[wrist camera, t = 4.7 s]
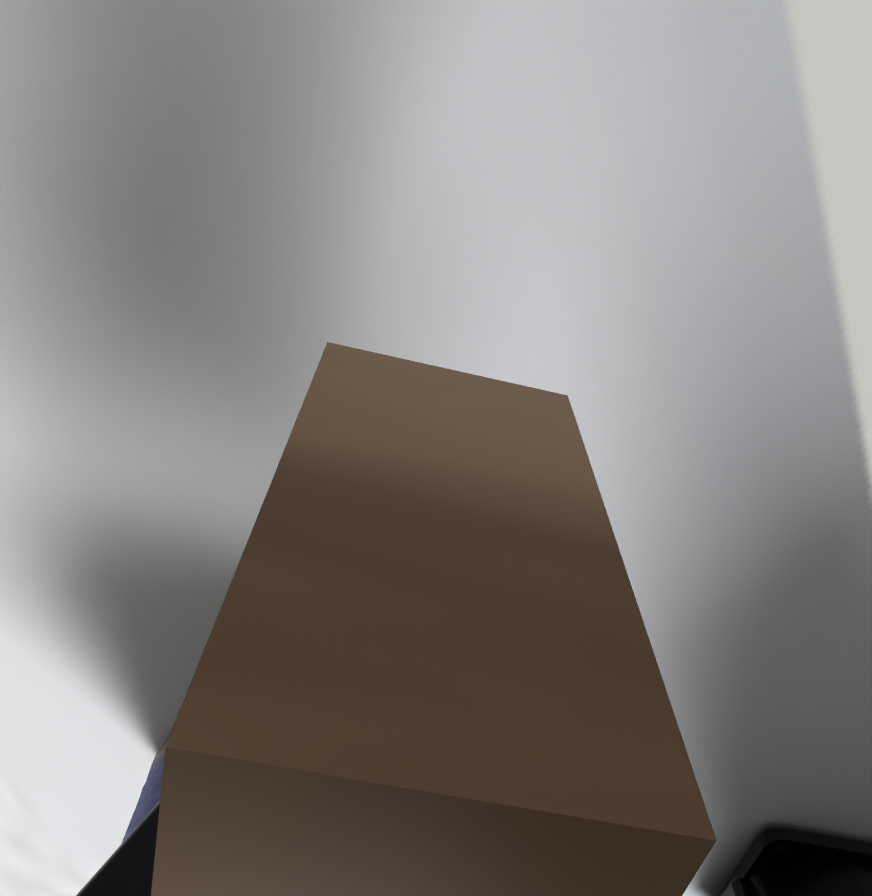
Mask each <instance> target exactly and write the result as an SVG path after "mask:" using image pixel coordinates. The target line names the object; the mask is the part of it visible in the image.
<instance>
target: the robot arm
mask: <svg viewBox="0 0 872 896" xmlns="http://www.w3.org/2000/svg"><path fill="white" fill-rule="evenodd" d="M159 808H160V801H159V802H158V804H157V805H156V806H155V807H154V808H153V809H152V810H151V811H150V813H149V814H148V815H147V816H146V817H145V818H144V819H143V821H142V822H141V823H140V824H139V825H138V826H137V827H136V828H135V830H134V831H133V832H132V833H131V834H130V835H129V836H128V838H127V839H126V840H125V841H124V842H123V843H122V844H121V845H120V847H119V848H118V849H117V850H116V851H115V852H114V853H113V855H112V856H111V857H110V858H109V859H108V860H107V861H106V862H105V864H104V865H103V866H102V867H101V868H100V869H99V870H98V872H97V873H96V874H95V875H94V876H93V877H92V878H91V879H90V881H89V882H88V883H87V884H86V885H85V886H84V887H83V889H82V890H81V891H80V892H79V893H78V894H77V895H76V896H151V890H152V880H153V870H154V859H155V849H156V839H157V828H158V818H159ZM719 896H872V844H871V843H865V842H860V841H854V840H848V839H843V838H837V837H831V836H825V835H820V834H814V833H808V832H803V831H797V830H791V829H786V828H770V829H767V830H765V831H763V832H762V833H761V834H760V835H759V836H758V838H757V839H756V841H755V842H754V844H753V845H752V847H751V848H750V850H749V851H748V853H747V854H746V856H745V857H744V859H743V860H742V862H741V863H740V865H739V866H738V868H737V869H736V871H735V872H734V874H733V875H732V877H731V878H730V880H729V881H728V883H727V884H726V886H725V887H724V889H723V890H722V892H721V893H720V895H719Z"/></svg>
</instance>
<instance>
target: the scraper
mask: <svg viewBox="0 0 872 896" xmlns="http://www.w3.org/2000/svg"><path fill="white" fill-rule="evenodd" d="M715 842H716V838H715V835H714V832H713V829H712V826H711V823H710V820H709V817H708V814H707V811H706V808H705V805H704V802H703V799H702V796H701V793H700V790H699V787H698V784H697V781H696V778H695V775H694V772H693V769H692V766H691V763H690V760H689V757H688V754H687V751H686V748H685V745H684V742H683V739H682V736H681V733H680V730H679V728H678V725H677V722H676V719H675V716H674V713H673V710H672V707H671V704H670V701H669V698H668V695H667V692H666V689H665V686H664V683H663V680H662V677H661V674H660V671H659V668H658V665H657V662H656V659H655V656H654V653H653V650H652V647H651V644H650V641H649V638H648V635H647V632H646V629H645V626H644V623H643V620H642V617H641V614H640V611H639V608H638V605H637V602H636V599H635V596H634V593H633V590H632V587H631V584H630V581H629V578H628V575H627V572H626V569H625V566H624V563H623V560H622V557H621V554H620V551H619V548H618V545H617V542H616V539H615V536H614V533H613V530H612V527H611V524H610V521H609V518H608V515H607V512H606V509H605V506H604V503H603V500H602V497H601V494H600V491H599V488H598V485H597V482H596V479H595V476H594V473H593V470H592V467H591V464H590V461H589V458H588V455H587V452H586V449H585V446H584V443H583V440H582V437H581V434H580V431H579V428H578V425H577V422H576V419H575V416H574V413H573V410H572V407H571V404H570V402H569V399H568V396H567V395H562V394H558V393H553V392H549V391H544V390H540V389H535V388H531V387H526V386H522V385H517V384H513V383H508V382H504V381H499V380H495V379H490V378H486V377H481V376H477V375H472V374H468V373H463V372H459V371H454V370H450V369H445V368H441V367H436V366H432V365H427V364H423V363H418V362H414V361H409V360H405V359H400V358H396V357H391V356H387V355H382V354H378V353H373V352H369V351H364V350H360V349H355V348H351V347H346V346H342V345H337V344H333V343H328V342H327V345H326V347H325V350H324V352H323V355H322V357H321V360H320V362H319V365H318V367H317V370H316V372H315V375H314V377H313V380H312V382H311V385H310V387H309V390H308V392H307V395H306V397H305V400H304V402H303V405H302V407H301V410H300V412H299V415H298V417H297V420H296V422H295V425H294V427H293V430H292V432H291V435H290V437H289V440H288V442H287V445H286V447H285V450H284V452H283V455H282V457H281V460H280V462H279V465H278V467H277V470H276V472H275V475H274V477H273V480H272V482H271V485H270V487H269V490H268V492H267V495H266V497H265V500H264V502H263V505H262V507H261V510H260V512H259V515H258V517H257V520H256V522H255V525H254V527H253V530H252V532H251V535H250V537H249V540H248V542H247V545H246V547H245V550H244V552H243V555H242V557H241V560H240V562H239V565H238V567H237V570H236V572H235V575H234V577H233V580H232V582H231V585H230V587H229V590H228V592H227V595H226V597H225V600H224V602H223V605H222V607H221V610H220V612H219V615H218V617H217V620H216V622H215V625H214V627H213V630H212V632H211V635H210V637H209V640H208V642H207V645H206V647H205V650H204V652H203V654H202V657H201V659H200V662H199V664H198V667H197V669H196V672H195V674H194V677H193V679H192V682H191V684H190V687H189V689H188V692H187V694H186V697H185V699H184V702H183V704H182V707H181V709H180V712H179V714H178V717H177V719H176V722H175V724H174V727H173V729H172V732H171V734H170V737H169V739H168V742H167V744H166V747H165V757H164V767H163V777H162V787H161V798H160V808H159V818H158V828H157V839H156V849H155V859H154V870H153V880H152V890H151V896H682V895H683V893H684V892H685V890H686V888H687V887H688V885H689V884H690V882H691V880H692V879H693V877H694V876H695V874H696V872H697V871H698V869H699V868H700V866H701V864H702V863H703V861H704V859H705V858H706V856H707V855H708V853H709V851H710V850H711V848H712V847H713V845H714V843H715Z"/></svg>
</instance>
